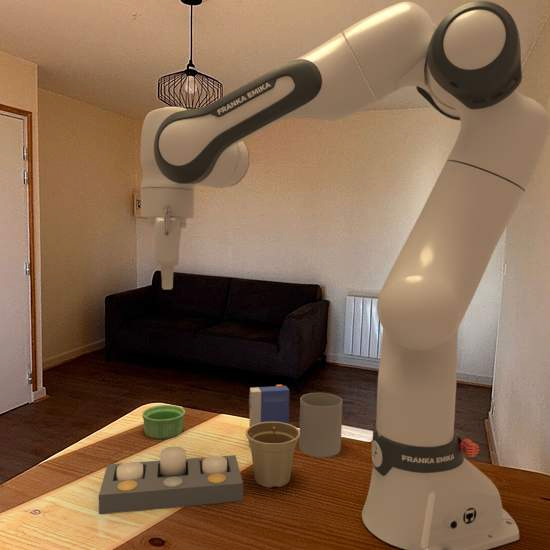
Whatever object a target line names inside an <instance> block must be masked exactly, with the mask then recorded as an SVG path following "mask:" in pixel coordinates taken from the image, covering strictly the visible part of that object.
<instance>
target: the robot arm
mask: <svg viewBox="0 0 550 550" xmlns="http://www.w3.org/2000/svg"><path fill="white" fill-rule="evenodd" d="M521 50H522V49H521V39H520V33H519V30H518V27H517V24H516V21H515V19H514V18H513V16H512V15H511V13H509V11H508V10H507V9H505V7H503V6H501V5H500V4H497V3H495V2H493V1H485V0H478V1H477V0H476V1H471V2H468V3H465V4H462V5H459V6H458V7H456V8H454V9H453V10H451V11H450V12H449V13H448V14H447V15H446V16H444V18H443V19H442V20H441V21H440V22H439V24H438V25H436V24H435V23H434V21H433V20H432V18H431V16H430V14H429V13H428V12H427V11H426V10H425V9H424V8H423V7H422V6H421V5H419V4H417V3H415V2H412V1H402V2H401V1H400V2H397V3H395V4H393V5H391V6H387V7H385V8H383V9H381V10H378V11H377V12H374V13H373V14H370V15H368V16H366V17H365V18H363V19H361V20H359V21H358V22H356V23H354V24H352V25H351V26H349V27H348V28H346V29H344V30H342V32H339V33H338V34H336V35H335V36H333V37H332V38H330V39H329V40H327V41H325V42H323V43H322V44H321V45H319V46H317V47H315V48H313V50H311V51H309V52H307V53H305V54H303V55H301V56H299V57H298V58H295V59H293V60H290V61H288V62H287V63H285V64H282V65H280V66H279V67H275V68H274V69H272V70H269V71H267V72H266V73H264V74H262V75H261V76H259V77H257V78H255V79H253V80H251V81H250V82H247V83H245V84H244V85H242V86H241V87H239V88H236V89H235V90H233V91H231V92H230V93H228V94H225V95H224V96H223V97H222V96H221V98H219V99H217V100H215V101H214V102H211V103H209V104H207V105H204V106H202V107H197V108H191V109H187V108H186V107H183V106H170V105H169V106H168V105H167V106H159V107H157V108H154V109H152V110H151V111H150V112H147V114H146V116H145V118H144V120H143V124H142V127H141V135H140V136H141V137H140V165H141V169H142V181H141V184H140V217H142V218H147V219H148V222H147V223H148V226H147V227H148V228H154V255H153V256H154V263H155V265H156V266H160V275H161V288H162V290H172V289H173V288H174V272H175V271H174V269H175V267H174V266H178V265H179V262H180V261H179V260H180V245H181V236H182V235H181V234H182V228H183V229H184V228H185V229H186V228H187V220H188V219H194V217H195V187H196V186H197V185H198V186H203V187H209V188H210V187H211V188H216V189H224V188H228V187H232V186H235V185H238V183H240V182H241V181H242V180H243V179H244V177H245V176H246V174H247V173H248V169H249V167H250V152H249V148H248V146H247V145H246V142H245V141H244V140H246V139H249V138H250V137H252V136H254V135H256V134H257V133H260V132H261V131H263V130H265V129H267V128H269V127H270V126H273V125H274V124H278V123H279V122H282V121H285V120H291V119H299V118H301V119H302V118H303V119H304V118H305V119H315V120H317V119H318V120H321V121H329V122H336V121H340V120H343V119H345V118H348V117H351V116H353V115H356V114H359V113H361V112H362V111H364V110H366V109H369V107H371V106H373V105H375V104H377V103H378V102H380V101H382V100H384V99H386V97H388V96H390V95H392V94H393V93H395V92H397V91H399V90H401V89H404V88H407V87H416V91H417V92H418V93H419V94H420V95H421V96H422V97H423V98H424V99H425V100H426V101H427V102H428V103H429V104H430V105H431V106H432V107H433V108H434V109H435V110H436V111H437V112H439V114H441V115H442V116H445V117H446V118H449V119H451V120H454V121H460V130H459V133H458V135H457V138H456V141H455V143H454V145H453V147H452V149H451V151H450V153H449V155H448V157H447V158H446V161H445V163H444V165H443V167H442V169H441V170H440V173H439V175H438V176H437V179H436V181H435V183H434V185H433V187H432V189H431V191H430V193H429V195H428V198H427V199H426V202H425V203H424V205H423V208H422V209H421V212H420V213H419V215H418V217H417V219H416V221H415V223H414V224H413V227H412V229H411V230H410V232H409V234H408V236H407V238H406V240H405V242H404V245H403V246H402V248H401V250H400V252H399V254H398V256H397V258H396V260H395V262H394V264H393V266H392V267H391V269H390V272H389V273H388V275H387V277H386V279H385V281H384V283H383V285H382V287H381V289H380V292H379V294H378V297H377V303H376V309H377V317H378V320H379V323H380V325H381V326H382V327H381V328H382V331H381V333H382V335H381V344H380V345H381V346H380V357H379V365H378V366H379V367H378V375H377V395H376V396H377V397H376V419H375V420H376V421H375V422H376V423H375V424H374V425H373V428H372V430H373V431H372V440H371V441H372V443H371V463H372V471H371V478H370V484H369V487H368V493H367V495H366V496H367V497H366V499H365V502H364V506H363V508H362V511H361V518H362V519H361V520H362V522H363V524H364V526H365V527H366V529H367V530H368V531H369V532H370V533H371V534H372V535H374V536H375V537H377V538H378V539H380V540H381V541H383V542H384V543H386V544H388V545H391V546H394V547H397V548H400V549H403V550H491V549H493V548H496V547H500V546H504V545H507V544H509V543H513V542H516V541H518V540H519V539H520V530H519V527H518V525H517V523H516V521H515V520H514V518H513V517H512V516H511V515H510V514H509V513H508V512H507V511H506V509H504V508H503V503H502V499H501V494H500V493H499V490H498V488H497V486H496V485H495V483H494V482H493V481H492V480H491V479H490V478H489V477H488V476H487V475H486V474H485V473H484V472H482V471H481V470H480V469H478V468H477V467H476V465H474V464H473V463H471V462H470V461H469V460H468V459H466V458H465V457H464V454H463V453H465V454H466V455H467V456H468V457H470V458H475V457H476V456H478V454H479V451H480V449H479V448H480V447H479V445H478V444H477V443H475V442H473V441H472V440H471V439H470V438H464V439H463V436H462V435H461V434H459V433H457V432H456V431H454V430H455V415H456V395H457V351H458V350H457V349H458V348H457V346H458V328H459V327H460V324H461V322H462V321H463V319H464V317H465V315H466V313H467V310H468V308H469V307H470V305H471V303H472V300H473V298H474V296H475V294H476V292H477V289H478V287H479V285H480V283H481V281H482V279H483V276H484V274H485V272H486V270H487V267H488V266H489V262H490V261H491V258H492V257H493V254H494V252H495V249H496V247H497V245H498V243H499V241H500V239H501V237H502V235H503V234H504V232H505V230H506V228H507V226H508V224H509V222H511V221H510V220H511V219H512V217H513V216H514V213H515V211H516V209H517V207H518V205H519V204H520V202H521V200H522V198H523V196H524V195H525V192H526V190H527V189H528V187H529V185H530V183H531V180H532V179H533V177H534V174H535V172H536V170H537V167H538V164H539V162H540V159H541V158H542V154H543V151H544V148H545V146H546V143H547V140H548V137H549V136H548V135H549V133H550V116H549V113H548V111H547V110H546V108H545V107H543V106H542V104H540V103H539V102H538V101H536V100H535V99H533V98H531V97H529V96H526V95H524V94H522V93H520V92H518V90H517V89H518V87H519V86H520V84H521V83H522V81H523V70H522V56H521V55H522V54H521Z"/></svg>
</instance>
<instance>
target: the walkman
mask: <svg viewBox="0 0 550 550" xmlns="http://www.w3.org/2000/svg"><path fill="white" fill-rule="evenodd" d="M248 408H249V427H250V426H252V425H254V424H257V423H261V422H282V423H287V424H290V418H289V417H290V389H289V388H288V387H287V386H286V385H283V384H276V385H275V386H257V387H250V388H249V395H248ZM249 427H248V428H249ZM248 445H249V448H250V449H251V446H250V444H249V443H248Z"/></svg>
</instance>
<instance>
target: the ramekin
mask: <svg viewBox="0 0 550 550" xmlns="http://www.w3.org/2000/svg"><path fill="white" fill-rule="evenodd" d="M141 415H142V419H143V429H144V430H143V431H144V434H145V435H146V436H147V437H148V438H151V439H158V440H160V439H161V440H162V439H164V440H165V439H171V438H174V437H176V436H179V435H180V434H182V432H183V429H184V419H185V415H186V409H185V408H183V407H181V406H178V405H175V404H173V405H172V404H160V405H154V406H151V407H148V408H146V409H145V410H143V411H142V414H141Z"/></svg>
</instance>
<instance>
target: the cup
mask: <svg viewBox="0 0 550 550" xmlns="http://www.w3.org/2000/svg"><path fill="white" fill-rule="evenodd" d="M299 398H300V402H299V403H300V404H299V405H300V406H299V431H300V437H299V438H298V439H299V440H298V443H299V446H298V447H299V450H300V451H301V452H302V453H304V454H305V455H308V456H310V457H317V458H328V457H333V456H336V455H338V454H339V453H340V452H341V451H342V427H343V426H342V425H343V424H342V423H343V399H342V398H341V397H340V396H338V395H335V394H332V393H327V392H326V393H325V392H310V393H305V394H303V395H302V396H301V397H299Z"/></svg>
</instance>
